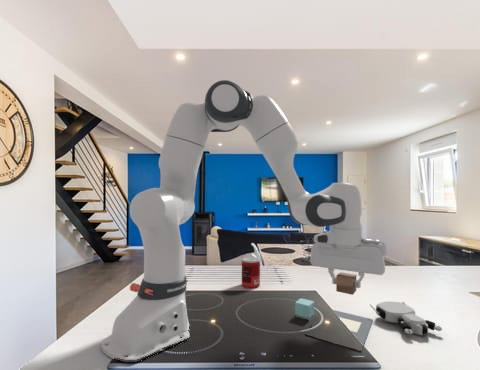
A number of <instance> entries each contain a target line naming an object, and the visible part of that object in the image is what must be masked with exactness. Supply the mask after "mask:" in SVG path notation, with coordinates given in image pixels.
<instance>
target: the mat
mask: <svg viewBox="0 0 480 370" xmlns="http://www.w3.org/2000/svg"><path fill="white" fill-rule="evenodd" d="M332 310H333V312H334V313H335V314H336V315H337V316H338V317H339V318H340V320H341V321H342V322H343V323H344V324H345V325H346V326H347V328H348V329H349V330H350V331H351V332H352V333H353V334H354V335H355V336H356V337H357V339H358V340H359V341H360V342H361V343H362V344H363V345H364V346H365V344H366V340H367V338H368V335H369V334H370V330H371V327H372V324H373V323H374V319H373V318H368V317H364V316H360V315H356V314H352V313H347V312H345V311H343V312H342V311H341V310H340V311H339V310H336V309H335V310H334V309H332Z"/></svg>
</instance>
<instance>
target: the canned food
mask: <svg viewBox="0 0 480 370" xmlns="http://www.w3.org/2000/svg"><path fill="white" fill-rule="evenodd" d="M260 283H261V259H260V258H259V257H255V256H253V257H252V256H249V257H248V256H247V257H243V258H242V259H241V285H242V287H243V288H245V289H249V288H250V289H252V288H253V289H257V288H259V287H260ZM250 289H249V290H250Z"/></svg>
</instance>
